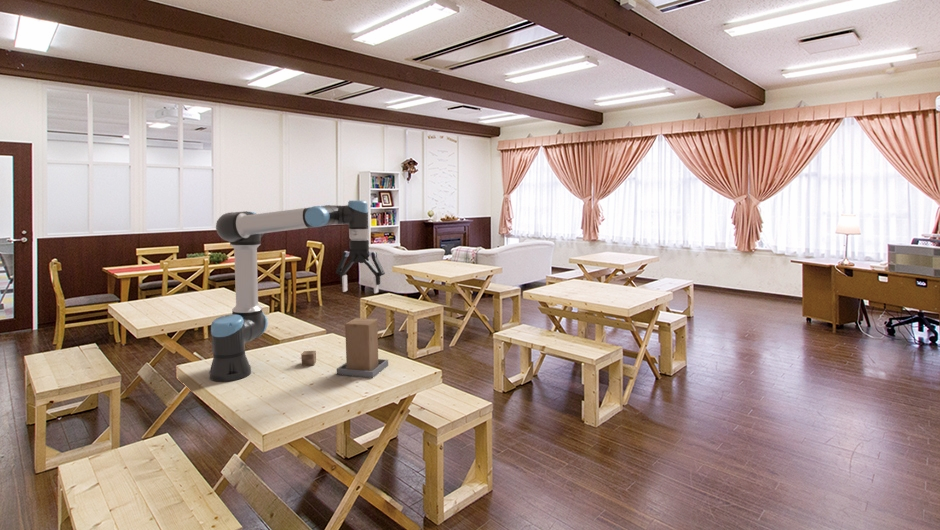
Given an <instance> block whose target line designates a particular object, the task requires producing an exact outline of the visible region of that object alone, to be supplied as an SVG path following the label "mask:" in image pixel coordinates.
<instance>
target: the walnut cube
mask: <svg viewBox="0 0 940 530" xmlns="http://www.w3.org/2000/svg"><path fill="white" fill-rule="evenodd" d="M300 358H301V367H310V366H315V364H316V363H317V352H316V350H304V351H302V353H301V356H300Z"/></svg>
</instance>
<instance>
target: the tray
mask: <svg viewBox="0 0 940 530" xmlns="http://www.w3.org/2000/svg"><path fill="white" fill-rule="evenodd" d="M388 366H389V359H382V358H378V366H377V367H376V368H375V369H374V370H372V371H364V370H352V369H347V363H346V362H345V363H343V364H342V365H340V366H339V367H337V368H336V375H337V376H346V377H357V378H365V379H366V378H368V379H374V378H375V377H376V376H378V374H380V373H381V372H382V371H384V370H385V369H386V368H387V367H388ZM384 368H385V369H384ZM379 372H380V373H379ZM373 377H374V378H373Z"/></svg>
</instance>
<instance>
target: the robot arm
mask: <svg viewBox="0 0 940 530" xmlns="http://www.w3.org/2000/svg"><path fill="white" fill-rule="evenodd" d="M347 202H348V203H347V205H346V204H345V205H336V204H335V205H330V204H328V205H327V204H326V205H325V204H324V205H321V206H320V205H314V206H309V207H304V208H293V209H285V210H278V211H270V212H269V211H268V212H262V213H257V212H254V211H247V210H246V211H235V212H234V211H231V212H226V213H224V214H222V215H220V216H219V218H217V220H216V223H215V230H216V233H217V235H218V236H219V237H220V238H221V239H222V240H223V241H225V242H228V243H229V245H230V246H231V247H232V248H233V251H234V279H235V280H234V282H235V283H234V284H235V287H234V288H235V306H234V307H233V308H232V310H231V311H232V314H226V315H221V316H219V317H217V318H215V319H213V321H212V322H211V325H210V334H211V335H210V336H211V346H212V362H211V365H210V370H209V379H210V380H211V381H214V382H231V381H237V380H242V379H244V378H247V377H248V376H250V375H251V374H252V366H251V364H250V363H249V360H248V357H247V355H246V345H245V344H246V343H248V342H251V341H253V340H256V339H258V338H259V337H260V336H262V335H263V334H264V333H265V331H266V330H267V329H268V324H269V321H268V318H267V315H266V314H265V312H263V306H261V305H259V286H258V285H259V283H258V248H259V246H261V243H262V242H261V240H262V239H261V238H262V237H263V235H264V234H268V233H277V232H284V231H293V230H294V231H295V230H301V229H308V228H309V229H310V228H312V229H313V228H321V227H325V226H333V225H335V226H336V225H348V232H349V233H348V235H349V239H350V240H349V241H348V242H349V251H348V250H344V251H342V254H341V257H340V258H341V259H340V262H339V263H338V265H337V268H336V269H335V274H337V275H339V278H340V283H341V284H342V292H343V293H345V292H347V291H348V275H347V273H348V271H349V270H350V268H352V266H353V264H358V263H360V264H365V265H366V266H367V268H368V269H369V270H370V271H371V272H372V274H373V275H374V276H373V293H374V294H378V293H379V285H381V276H384V275H385V273H386V272H385V271H384V269H383V267H382V264H381V262H380V260H379V258H378V256H377V255H378V253H377V251H372V252H370V251H369V249H370V247H369V246H370V242H369V240H368V239H369V208H368V202H367V201H366V200H349V201H347ZM348 257H349V258H350V259H349V260H348ZM369 257H370V258H371V259H370V258H369ZM347 260H348V262H347ZM371 260H372V261H373V263H372V261H371ZM346 262H347V263H346ZM345 264H346V265H345Z"/></svg>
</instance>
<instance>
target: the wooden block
mask: <svg viewBox="0 0 940 530" xmlns="http://www.w3.org/2000/svg"><path fill="white" fill-rule="evenodd" d="M344 330H345V355H346V356H345V357H346V358H345V359H346V362H345V363H347V369H352V370H364V371H372V370H374V369H375V368H376V367H377V366H378V359H379V339H378V338H379V330H378V319H377V318H360V317H355V318H353V319H352V320H350V321H348V322H346V323H345V324H344Z"/></svg>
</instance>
